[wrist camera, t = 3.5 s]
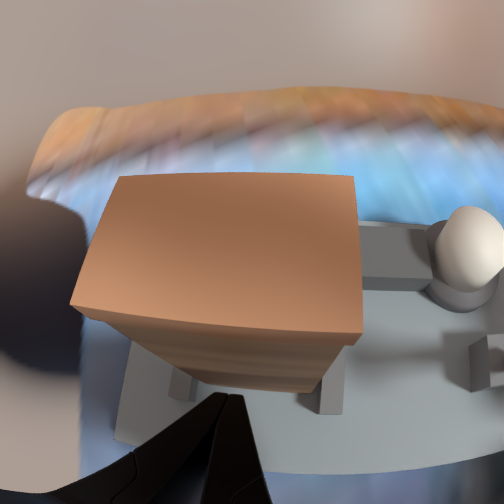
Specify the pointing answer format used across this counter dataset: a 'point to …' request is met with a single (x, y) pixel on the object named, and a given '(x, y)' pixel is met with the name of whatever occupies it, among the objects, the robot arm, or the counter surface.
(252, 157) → the counter surface
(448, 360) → the control board
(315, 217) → the brown tall rectangular block
